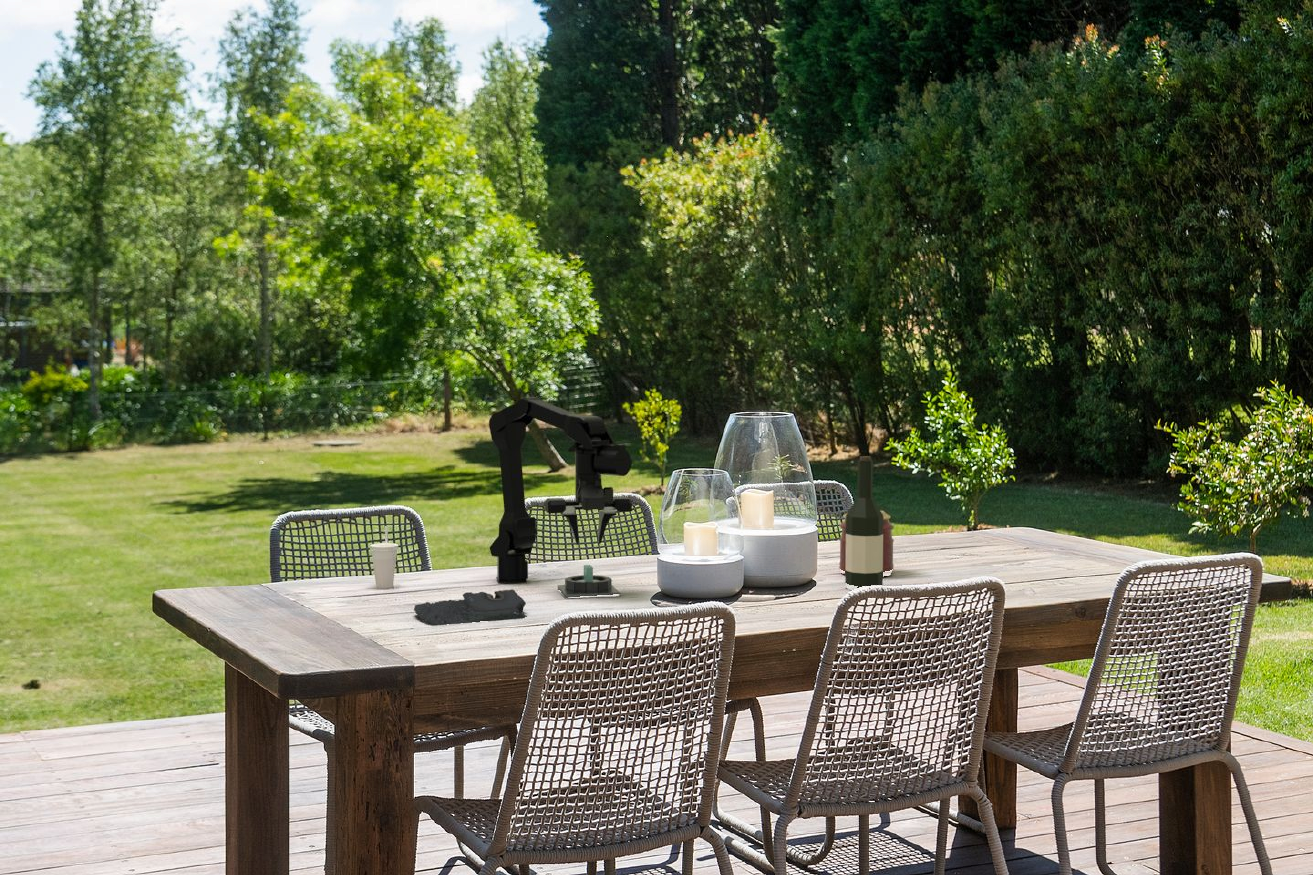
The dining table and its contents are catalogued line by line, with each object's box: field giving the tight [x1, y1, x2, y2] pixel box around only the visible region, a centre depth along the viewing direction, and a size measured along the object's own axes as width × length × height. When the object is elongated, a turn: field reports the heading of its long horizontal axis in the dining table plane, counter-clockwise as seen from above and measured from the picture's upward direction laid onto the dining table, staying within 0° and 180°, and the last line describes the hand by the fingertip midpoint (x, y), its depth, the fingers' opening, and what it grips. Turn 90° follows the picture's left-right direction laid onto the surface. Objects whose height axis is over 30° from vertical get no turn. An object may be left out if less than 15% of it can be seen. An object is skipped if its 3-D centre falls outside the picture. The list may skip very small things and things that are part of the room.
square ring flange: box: [557, 574, 621, 599], centre depth 294 cm, size 12×12×3 cm
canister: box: [838, 509, 895, 572], centre depth 320 cm, size 13×13×18 cm
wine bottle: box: [844, 455, 884, 588], centre depth 300 cm, size 8×8×30 cm
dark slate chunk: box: [413, 589, 528, 627], centre depth 269 cm, size 15×22×5 cm
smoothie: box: [369, 525, 399, 590], centre depth 301 cm, size 6×6×14 cm
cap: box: [578, 564, 599, 582], centre depth 294 cm, size 6×6×5 cm
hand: (588, 543), depth 294 cm, fingers open, 5 cm apart
